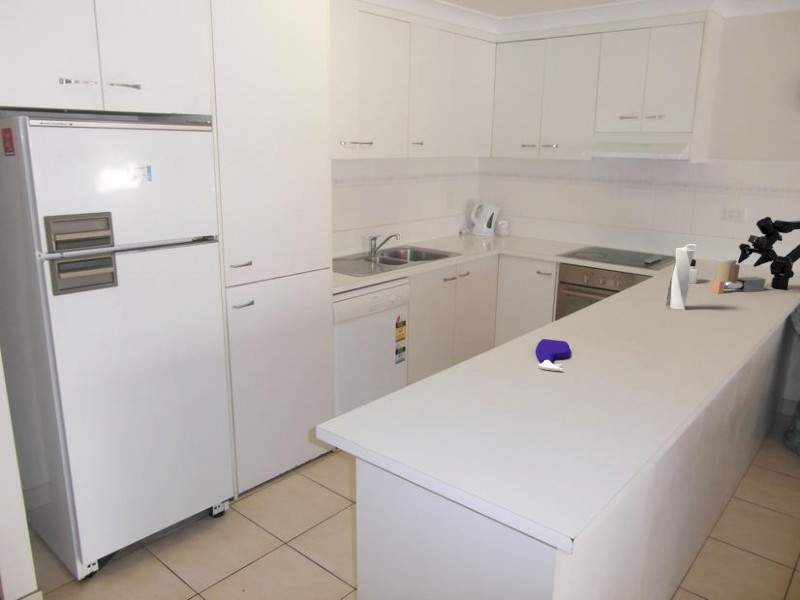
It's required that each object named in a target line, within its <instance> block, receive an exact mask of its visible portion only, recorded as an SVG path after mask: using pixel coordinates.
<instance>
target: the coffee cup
mask: <svg viewBox="0 0 800 600" xmlns="http://www.w3.org/2000/svg"><path fill="white" fill-rule="evenodd" d="M715 261H716V262H715V270H714V271H715V272H714V279H718V280H722V281H725V282H728V277H729V271H730V265H731V264H737V259H735V258H733V257H726V256H725V257H724V256H719V257H716V259H715Z"/></svg>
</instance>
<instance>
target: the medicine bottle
mask: <svg viewBox="0 0 800 600" xmlns="http://www.w3.org/2000/svg"><path fill="white" fill-rule="evenodd" d="M696 265H697V260H696V259H695V258H692V261H691V264H690V270H691V279H690V285H691V284H692V285H693V284H697V281H698V273H699V269H697V268H696Z"/></svg>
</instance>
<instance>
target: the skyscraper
mask: <svg viewBox="0 0 800 600" xmlns="http://www.w3.org/2000/svg"><path fill="white" fill-rule="evenodd" d="M689 246H695V247H694V249H690V247H689ZM697 246H698V245H697V244H694V243H690V244H689V243H688V244H686V245H685V246H684V247H683V246H682V247H677V248H675V266H674V270H673V272H672V277H670V281H669V286H668V289H667V295H666V301H665V308H666V309H667V310H676V309H678V311H686V307H685V304H686V301H687V298H688V295H689V291H690V286H691V283H690V279H691V270H690V264H691V261H692V259H694V258H693V257H694V256H695V255H694V254H695V251H696V248H697Z"/></svg>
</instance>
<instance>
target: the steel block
mask: <svg viewBox="0 0 800 600" xmlns="http://www.w3.org/2000/svg"><path fill="white" fill-rule="evenodd" d="M737 281H745V282H744V288H739V289H734V290H735V291H739V292H743V293H752V292H764V290H765V285H766V278H762V277H758V276H745V277H744V276H743V277H738V280H737Z"/></svg>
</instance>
